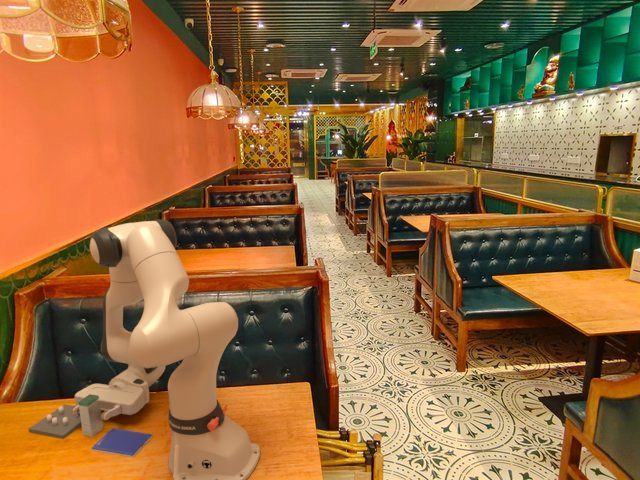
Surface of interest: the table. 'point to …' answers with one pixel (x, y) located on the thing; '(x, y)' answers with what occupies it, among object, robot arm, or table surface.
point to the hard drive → (122, 442)
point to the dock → (58, 423)
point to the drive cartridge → (90, 415)
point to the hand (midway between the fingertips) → (89, 415)
